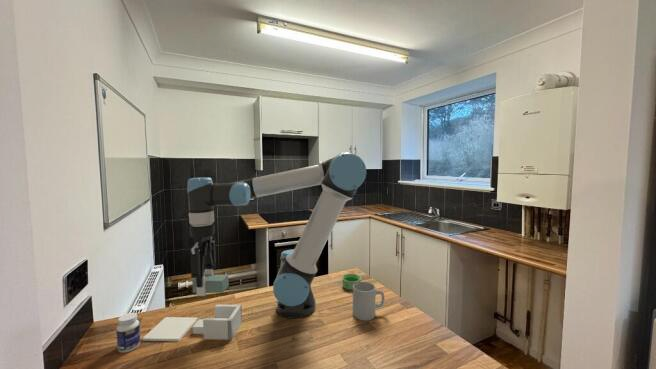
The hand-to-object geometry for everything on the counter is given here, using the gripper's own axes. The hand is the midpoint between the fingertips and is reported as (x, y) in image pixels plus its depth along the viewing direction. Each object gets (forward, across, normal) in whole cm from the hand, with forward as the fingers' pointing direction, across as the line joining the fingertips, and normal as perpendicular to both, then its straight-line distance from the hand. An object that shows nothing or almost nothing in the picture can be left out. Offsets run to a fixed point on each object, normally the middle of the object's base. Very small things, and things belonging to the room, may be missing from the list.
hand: (205, 291), depth 91 cm
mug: (+15, -11, +56) cm, 59 cm away
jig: (+14, 0, +3) cm, 14 cm away
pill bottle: (+14, +9, -20) cm, 26 cm away
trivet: (+14, 0, -12) cm, 19 cm away
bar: (-1, 0, +2) cm, 2 cm away
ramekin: (+15, -34, +52) cm, 63 cm away
